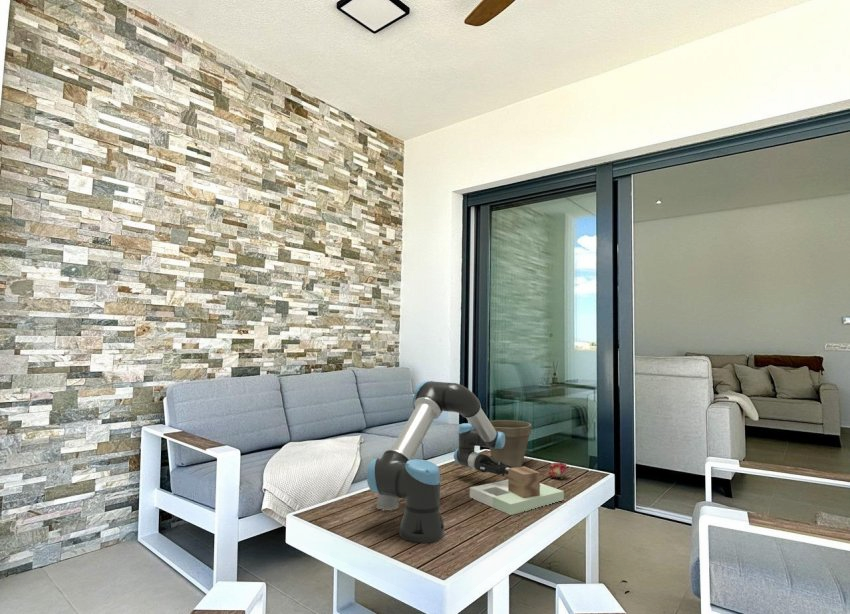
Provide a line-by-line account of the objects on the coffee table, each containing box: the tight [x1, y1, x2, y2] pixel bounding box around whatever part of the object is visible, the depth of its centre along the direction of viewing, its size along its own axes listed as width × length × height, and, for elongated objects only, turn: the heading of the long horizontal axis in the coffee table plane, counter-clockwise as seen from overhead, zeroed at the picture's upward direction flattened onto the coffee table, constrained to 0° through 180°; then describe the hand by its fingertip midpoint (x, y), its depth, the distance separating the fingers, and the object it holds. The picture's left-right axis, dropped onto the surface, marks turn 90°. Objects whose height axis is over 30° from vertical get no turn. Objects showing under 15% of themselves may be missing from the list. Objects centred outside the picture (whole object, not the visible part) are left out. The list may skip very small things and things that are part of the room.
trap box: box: [469, 479, 565, 516], centre depth 200 cm, size 30×24×4 cm
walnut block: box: [507, 465, 541, 498], centre depth 195 cm, size 8×10×9 cm
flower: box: [547, 461, 568, 480], centre depth 231 cm, size 10×9×8 cm
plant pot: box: [489, 419, 532, 468], centre depth 254 cm, size 25×25×22 cm
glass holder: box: [376, 493, 400, 509], centre depth 190 cm, size 9×14×15 cm, turn 104°
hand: (517, 474), depth 201 cm, fingers closed
